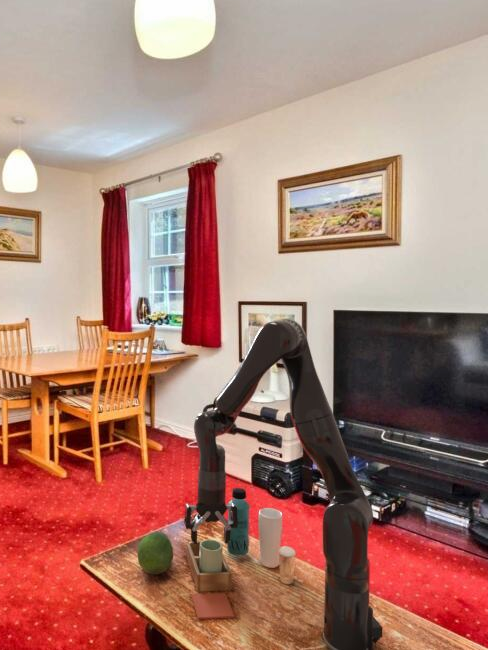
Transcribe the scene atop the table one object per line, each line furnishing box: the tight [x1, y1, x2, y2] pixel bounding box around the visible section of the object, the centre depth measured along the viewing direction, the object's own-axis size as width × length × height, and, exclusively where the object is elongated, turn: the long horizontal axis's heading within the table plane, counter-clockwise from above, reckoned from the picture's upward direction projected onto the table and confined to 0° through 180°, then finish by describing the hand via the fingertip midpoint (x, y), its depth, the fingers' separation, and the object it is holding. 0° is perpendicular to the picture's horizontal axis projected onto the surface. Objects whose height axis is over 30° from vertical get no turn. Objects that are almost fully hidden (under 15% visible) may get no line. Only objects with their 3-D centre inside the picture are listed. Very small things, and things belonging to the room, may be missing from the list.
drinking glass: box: [257, 507, 284, 569], centre depth 142 cm, size 7×7×15 cm
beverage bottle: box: [226, 487, 250, 557], centre depth 146 cm, size 6×7×20 cm
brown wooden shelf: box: [185, 540, 232, 593], centre depth 138 cm, size 9×17×4 cm, turn 5°
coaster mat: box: [190, 592, 236, 620], centre depth 123 cm, size 9×9×1 cm
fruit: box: [137, 531, 174, 575], centre depth 140 cm, size 15×10×10 cm, turn 164°
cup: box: [199, 538, 223, 573], centre depth 133 cm, size 6×6×10 cm
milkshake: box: [279, 545, 298, 585], centre depth 133 cm, size 4×5×10 cm
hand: (210, 542), depth 133 cm, fingers open, 8 cm apart
